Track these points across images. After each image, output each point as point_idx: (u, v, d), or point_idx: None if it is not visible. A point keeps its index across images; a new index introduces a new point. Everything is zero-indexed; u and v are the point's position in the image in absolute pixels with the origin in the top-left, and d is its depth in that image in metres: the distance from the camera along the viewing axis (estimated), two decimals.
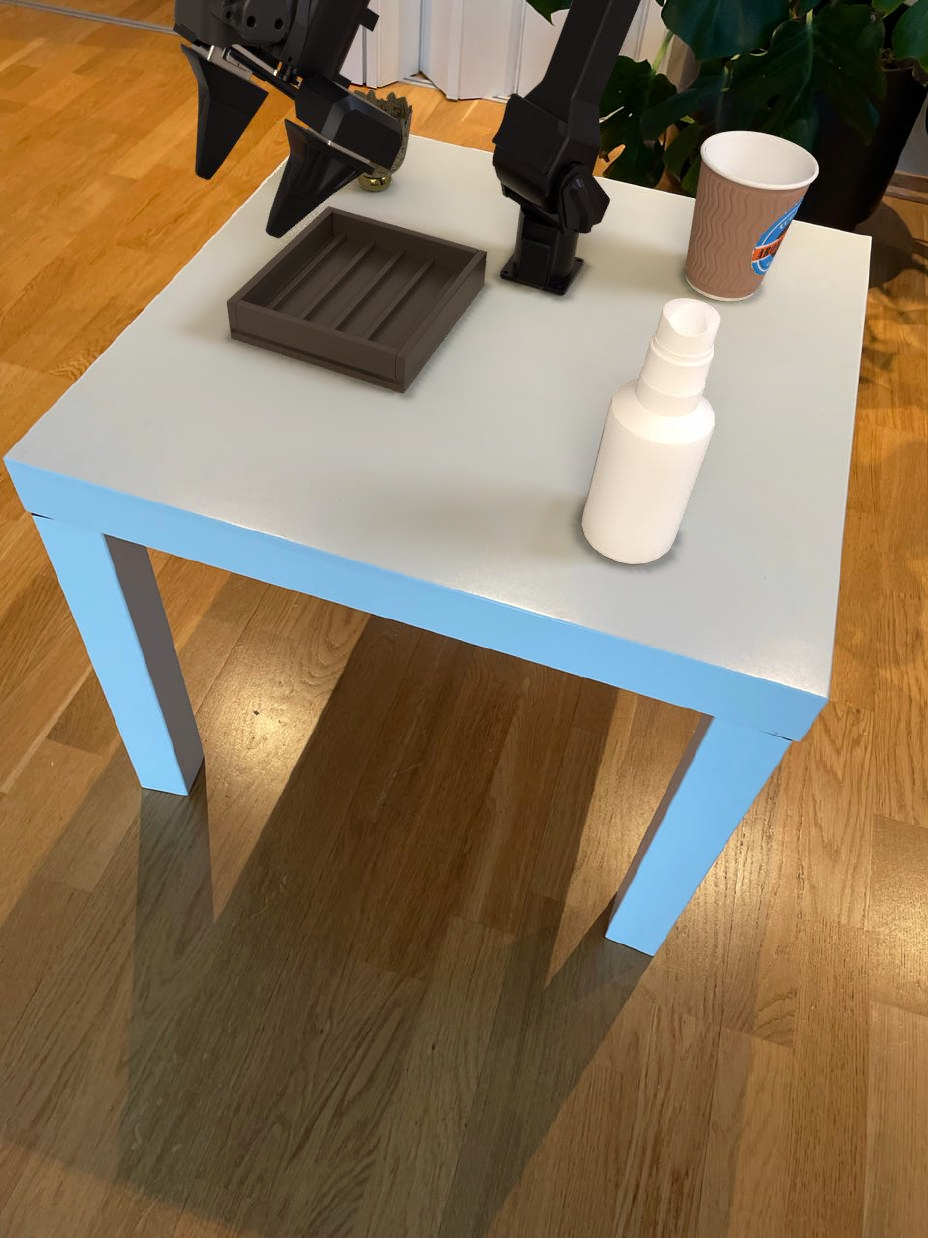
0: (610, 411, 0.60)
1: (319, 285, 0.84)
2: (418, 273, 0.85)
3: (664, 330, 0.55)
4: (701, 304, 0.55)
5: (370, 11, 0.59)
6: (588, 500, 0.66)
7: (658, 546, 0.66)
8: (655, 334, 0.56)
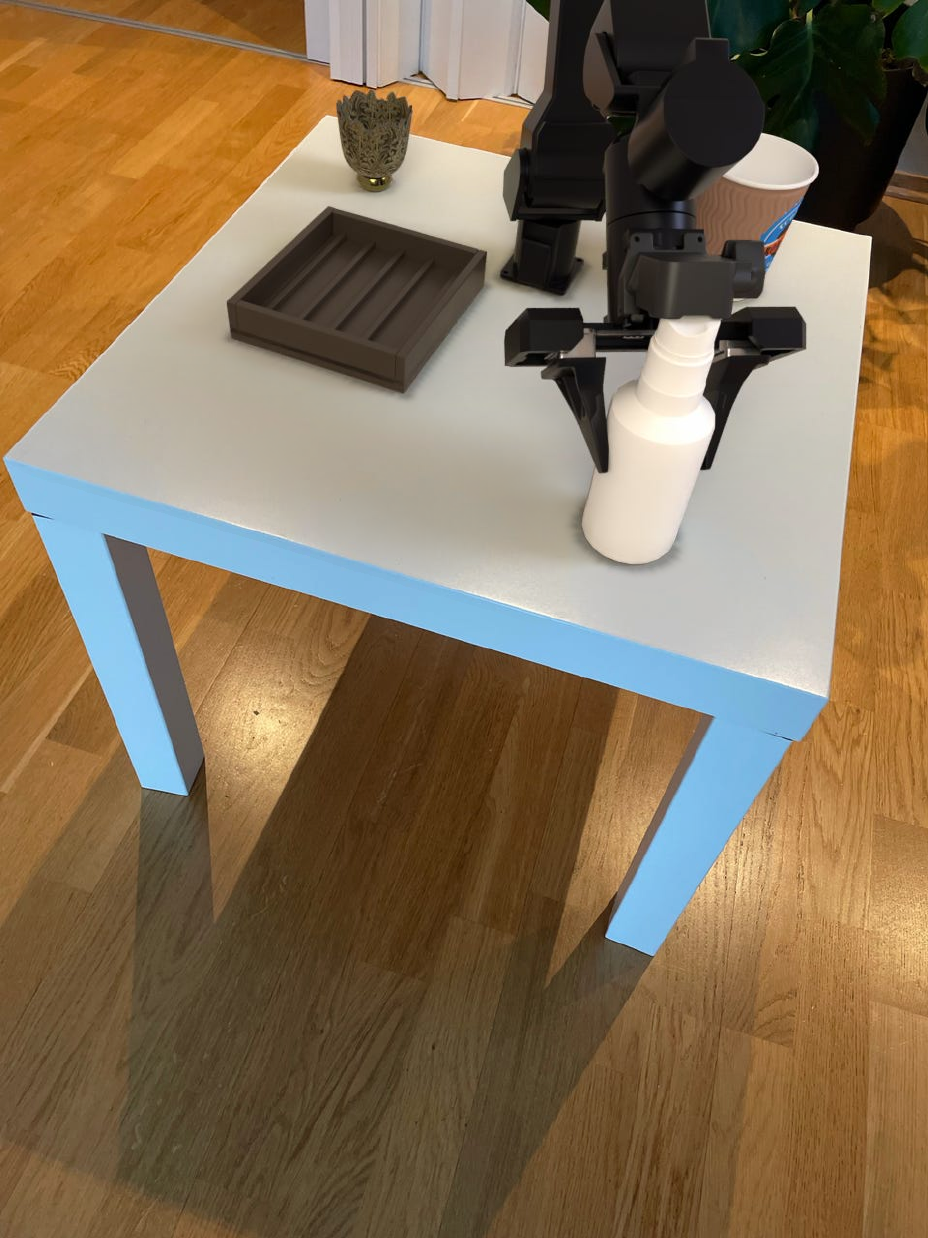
0: (610, 411, 0.60)
1: (319, 285, 0.84)
2: (418, 273, 0.85)
3: (664, 330, 0.55)
4: None
5: None
6: (588, 500, 0.66)
7: (658, 546, 0.65)
8: (655, 334, 0.56)
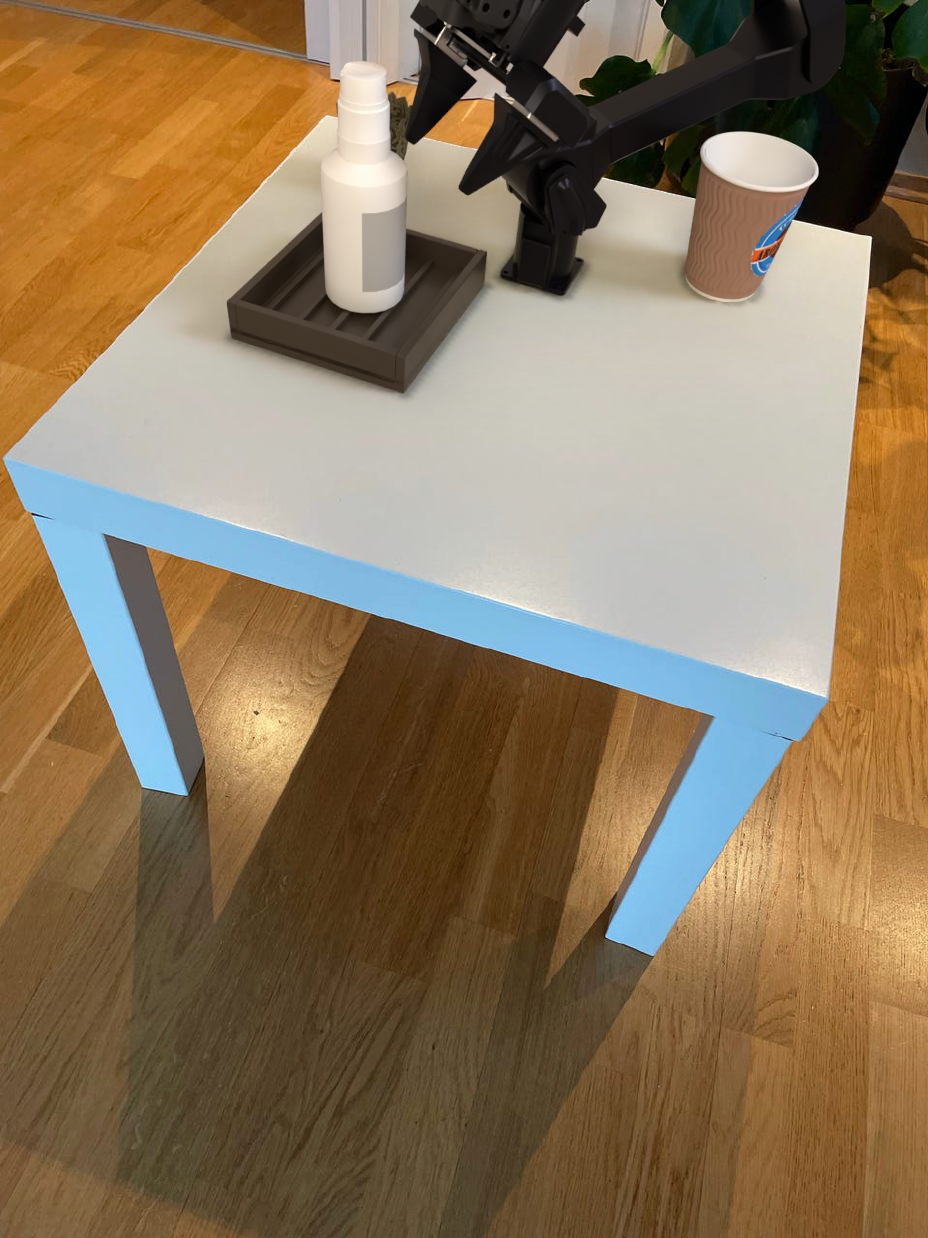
0: None
1: (319, 285, 0.84)
2: (418, 273, 0.85)
3: None
4: (380, 73, 0.68)
5: (578, 19, 0.71)
6: None
7: (334, 287, 0.79)
8: None
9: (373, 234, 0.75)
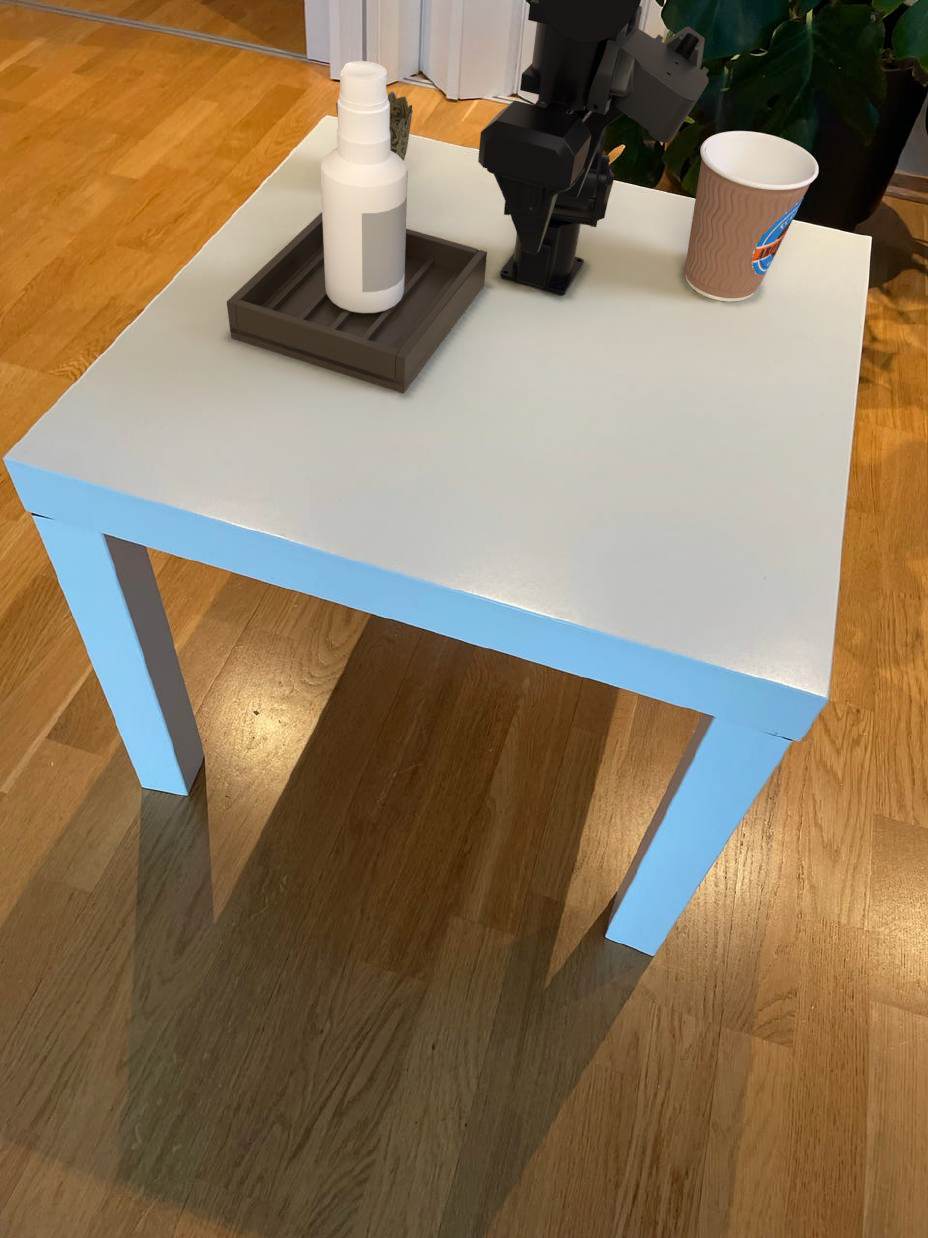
0: None
1: (319, 285, 0.84)
2: (418, 273, 0.85)
3: None
4: (380, 73, 0.68)
5: None
6: None
7: (334, 287, 0.79)
8: None
9: (373, 234, 0.75)
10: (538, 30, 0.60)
